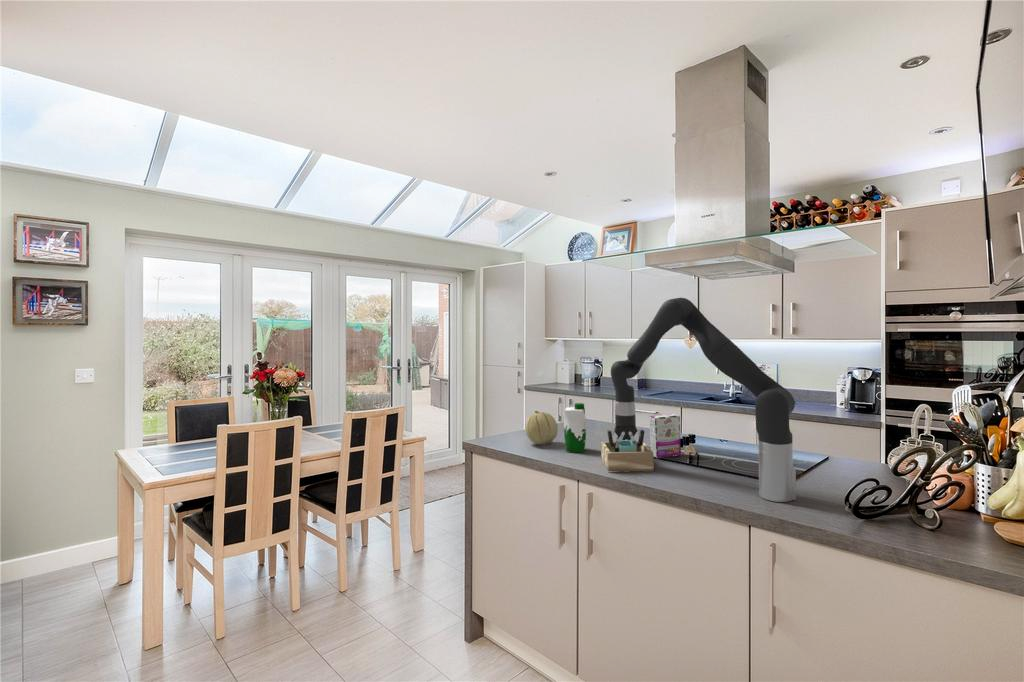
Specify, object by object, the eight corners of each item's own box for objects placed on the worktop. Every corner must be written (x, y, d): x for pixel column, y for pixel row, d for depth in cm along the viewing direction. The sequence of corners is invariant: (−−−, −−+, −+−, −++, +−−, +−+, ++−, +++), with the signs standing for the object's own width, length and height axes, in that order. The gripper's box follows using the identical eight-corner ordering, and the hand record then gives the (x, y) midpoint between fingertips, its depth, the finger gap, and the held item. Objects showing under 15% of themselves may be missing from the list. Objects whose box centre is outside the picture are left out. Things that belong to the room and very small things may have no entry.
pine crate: (601, 459, 205) (600, 442, 205) (642, 458, 205) (642, 441, 204) (608, 472, 188) (607, 453, 187) (653, 471, 187) (653, 452, 187)
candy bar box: (674, 453, 212) (673, 413, 211) (681, 456, 207) (680, 415, 206) (649, 455, 209) (649, 415, 208) (656, 458, 204) (655, 417, 203)
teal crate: (616, 455, 201) (615, 440, 201) (631, 455, 201) (631, 440, 201) (620, 462, 191) (620, 446, 191) (636, 462, 191) (636, 446, 191)
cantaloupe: (551, 449, 223) (550, 415, 223) (520, 447, 230) (519, 413, 229) (562, 441, 237) (562, 409, 236) (533, 439, 243) (532, 408, 242)
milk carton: (585, 453, 215) (584, 405, 215) (563, 452, 217) (562, 405, 217) (586, 448, 224) (585, 402, 223) (566, 447, 226) (564, 402, 225)
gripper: (607, 415, 192) (608, 460, 192) (646, 414, 191) (647, 459, 192) (604, 411, 199) (605, 455, 200) (642, 410, 199) (643, 454, 200)
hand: (626, 456), depth 196 cm, fingers closed on teal crate, 5 cm apart
